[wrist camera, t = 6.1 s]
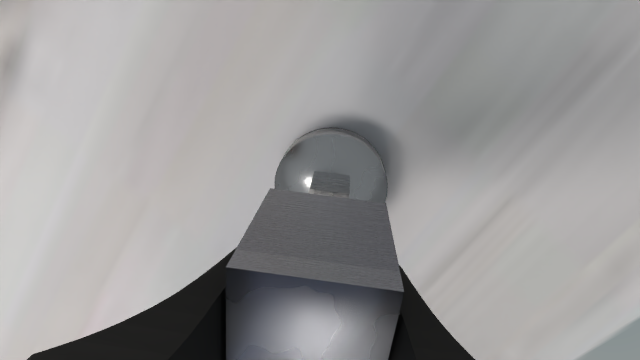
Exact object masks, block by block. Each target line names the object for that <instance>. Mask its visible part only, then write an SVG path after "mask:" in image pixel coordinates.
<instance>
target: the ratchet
mask: <svg viewBox="0 0 640 360" xmlns="http://www.w3.org/2000/svg"><path fill="white" fill-rule="evenodd" d="M275 189H279V190H287V191H294V192H302V193H310V194H318V195H325V196H333V197H341V198H349V199H357V200H364V201H372V202H380V203H385V201H386V197H387V179H386V174H385V170H384V166H383V163H382V160H381V158H380V156H379V154H378V153H377V151H376V150H375V148H374V147H373V146H372V145H371V144H370V143H369V142H368V141H367V140H366V139H364V138H363V137H361V136H360V135H358V134H356V133H354V132H351V131H348V130H345V129H339V128H323V129H318V130H315V131H312V132H309V133H307V134H305V135H303V136H302V137H300V138H299V139H297V140H296V141H295V142H294V143H293V144H292V145H291V146H290V148H289V149H288V150H287V152H286V154H285V155H284V157H283V159H282V160H281V162H280V164H279V167H278V169H277V172H276V176H275Z"/></svg>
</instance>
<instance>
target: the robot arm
mask: <svg viewBox="0 0 640 360" xmlns="http://www.w3.org/2000/svg"><path fill="white" fill-rule="evenodd" d="M235 250H236V248H235V249H234V250H233V251H232V252H231V253H229V254H228V255H227V256H226V257H225V258H223V259H222V260H221V261H220V262H218V263H217V264H216V265H215V266H213V267H212V268H211V269H209V270H208V271H207V272H206V273H204V274H203V275H202V276H200V277H199V278H198V279H196V280H195V281H193V282H192V283H190V284H189V285H188V286H186V287H185V288H183V289H182V290H180V291H179V292H177V293H176V294H174V295H172V296H171V297H169V298H167V299H166V300H164V301H162V302H160V303H159V304H157V305H155V306H153V307H151V308H149V309H147V310H145V311H143V312H141V313H139V314H137V315H135V316H133V317H131V318H129V319H127V320H125V321H123V322H121V323H118V324H116V325H114V326H111V327H109V328H107V329H104V330H102V331H99V332H97V333H94V334H91V335H89V336H86V337H84V338H81V339H78V340H75V341H72V342H69V343H66V344H63V345H60V346H57V347H54V348H51V349H48V350H45V351H42V352H39V353H35V354H33V355H31V356H30V357H29V358H28V359H27V360H226V266H227V264H228V263H229V261H230V259H231V257H232V255H233V254H234V252H235ZM399 269H400V274H401V279H402V284H403V289H404V295H403V299H402V303H401V307H400V312H399V316H398V320H397V324H396V328H395V333H394V337H393V341H392V345H391V349H390V353H389V358H388V360H475V359H474V358H473V357H472V356H471V355H470V354H469V353H468V352H467V351H466V350H465V349H464V348H463V347H462V346H461V345H460V344H459V343H458V342H457V341H456V340H455V339H454V338H453V337H452V335H451V334H450V333H449V332H448V331H447V330H446V329H445V327H444V326H443V325H442V324H441V323H440V321H439V320H438V319H437V318H436V316H435V315H434V314H433V313H432V311H431V310H430V309H429V307H428V306H427V305H426V303H425V302H424V300H423V299H422V298H421V296H420V295H419V293H418V292H417V291H416V289H415V288H414V286H413V285H412V283H411V282H410V280H409V279H408V277H407V275H406V274H405V272H404V271H403V269H402V268H401V267H400V266H399Z"/></svg>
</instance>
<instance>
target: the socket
mask: <svg viewBox="0 0 640 360" xmlns="http://www.w3.org/2000/svg"><path fill="white" fill-rule="evenodd" d="M403 295H404V289H403V284H402V279H401V274H400V269H399V264H398V260H397V255H396V250H395V245H394V240H393V235H392V231H391V226H390V221H389V216H388V211H387V206H386V203H380V202H372V201H364V200H357V199H349V198H341V197H333V196H325V195H318V194H310V193H302V192H294V191H287V190H279V189H271V188H270V190H269V192H268V193H267V195H266V197H265V199H264V201H263V202H262V204H261V206H260V208H259V209H258V211H257V213H256V215H255V216H254V218H253V220H252V222H251V224H250V225H249V227H248V229H247V231H246V232H245V234H244V236H243V238H242V240H241V241H240V243H239V245H238V247H237V248H236V250H235V252H234V254H233V255H232V257H231V259H230V261H229V263H228V264H227V266H226V360H388V358H389V353H390V349H391V345H392V341H393V337H394V333H395V328H396V324H397V320H398V316H399V312H400V307H401V303H402V299H403Z"/></svg>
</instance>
